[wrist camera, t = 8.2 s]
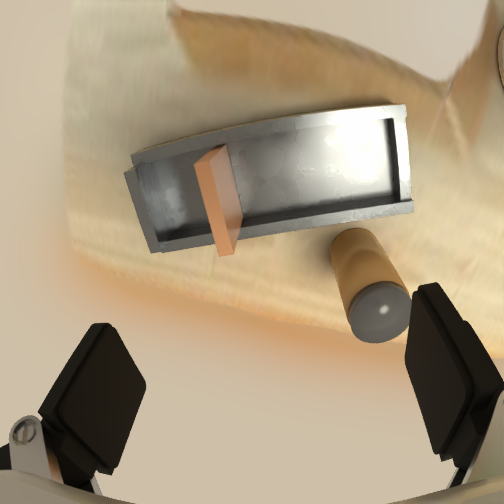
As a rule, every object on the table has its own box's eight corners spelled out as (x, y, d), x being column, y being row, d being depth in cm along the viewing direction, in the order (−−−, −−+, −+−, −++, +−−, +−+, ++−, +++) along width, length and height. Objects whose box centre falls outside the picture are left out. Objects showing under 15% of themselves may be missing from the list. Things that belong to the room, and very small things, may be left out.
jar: (378, 224, 29) (418, 283, 20) (379, 270, 31) (411, 337, 22) (327, 232, 29) (348, 295, 20) (331, 278, 31) (349, 349, 23)
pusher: (225, 144, 25) (209, 160, 19) (243, 216, 28) (233, 254, 22) (214, 147, 25) (193, 164, 19) (231, 218, 28) (219, 256, 22)
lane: (392, 103, 23) (415, 105, 19) (401, 200, 27) (422, 221, 23) (144, 148, 27) (119, 160, 22) (171, 238, 31) (154, 264, 26)
